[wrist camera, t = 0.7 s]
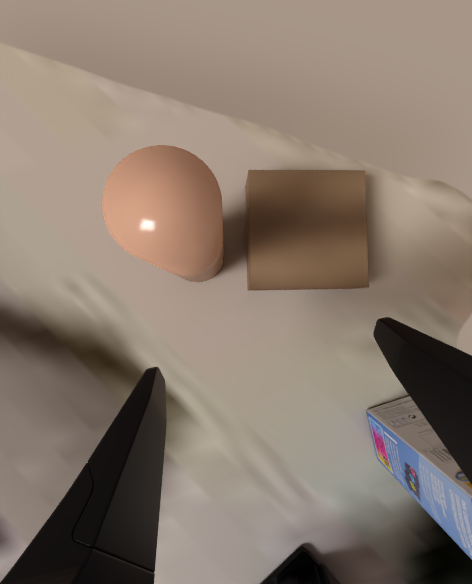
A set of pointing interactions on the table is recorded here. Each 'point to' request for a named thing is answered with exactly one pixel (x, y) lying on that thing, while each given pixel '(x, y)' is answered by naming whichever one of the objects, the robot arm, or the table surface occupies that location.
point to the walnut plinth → (306, 229)
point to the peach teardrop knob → (167, 211)
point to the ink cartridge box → (423, 467)
